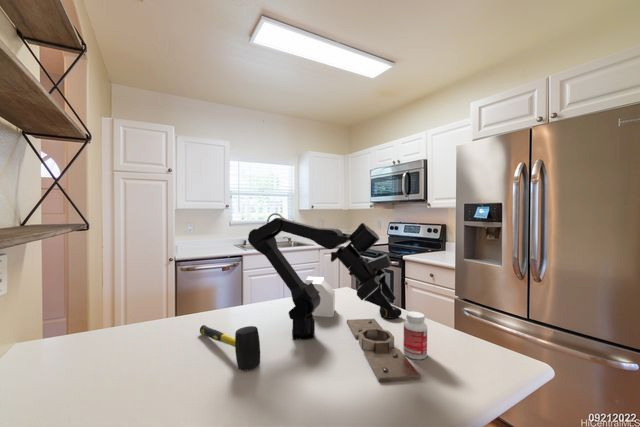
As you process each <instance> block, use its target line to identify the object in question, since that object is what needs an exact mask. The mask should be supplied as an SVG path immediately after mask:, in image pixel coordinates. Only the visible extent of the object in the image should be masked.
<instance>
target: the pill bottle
mask: <svg viewBox="0 0 640 427" xmlns="http://www.w3.org/2000/svg"><path fill="white" fill-rule="evenodd" d="M405 317H406V320H405V321H404V323H403V341H402V342H403V346H402V348H403V354H404V356H405V357H408V358H409V359H412V360H413V359H414V360H424V359H426V357H427V356H428V326H427V323H426V322H425V314H424V313H422V312H419V311H408V312H406V316H405Z"/></svg>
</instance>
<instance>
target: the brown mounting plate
mask: <svg viewBox="0 0 640 427" xmlns="http://www.w3.org/2000/svg"><path fill="white" fill-rule="evenodd" d="M346 323H347V326H348V328H349V329H350V331H351V333H352V335H353V338H354V339H358V344H359V346H360V348H361V349H362V351H363V356H364V358H365V359H366V361H367V363H368V365H369V366H370V368H371V370H372V372H373V373H374V376H375V377H376V379H377V381H378V383H388V382H389V383H390V382H400V381H404V382H405V381H415V380H418V381H419V380H421V374H420V373H419V372H418V370H417V369H416V368H415V367H414V365H413V364H412V363H411V362H410V361H409V359H408V358H407V356H406V355H405V354H404V352H402V351H401V349H399V348H397V349H395V336H394V335H393V334H392V333H391V331H389V330H385V329H383V328H382V326H381V325H380V324H379V323H378V321H377V320H376V319H375V318H359V319H346ZM375 340H377V341H375ZM378 340H379V341H378Z"/></svg>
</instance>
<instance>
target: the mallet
mask: <svg viewBox="0 0 640 427" xmlns="http://www.w3.org/2000/svg"><path fill="white" fill-rule="evenodd" d="M199 333H200V335H202V336H206V337H208V338H210V339H212V340H214V341H218V342H220V343H223V344H226V345H229V346H232V347H233V348H234V350H235V360H236V363H237V364H236V365H237V369H238V370H239V371H243V372H247V371H251V370H254V369H255V368H258V367H260V364H261V345H260V344H261V342H260V334H259V329H258V327H257V326H254V325H253V326H252V325H250V326H244V327H243V326H242V327H241V328H238V329H237V330H236V331H235V335H234V336H235V337H232V336H230V335H227V334H226V333H223V332H222V331H220V330H217V329H214V328H211V327H208V326H207V325H205V324H203V325H201V326H200V328H199Z"/></svg>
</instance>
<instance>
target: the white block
mask: <svg viewBox="0 0 640 427" xmlns="http://www.w3.org/2000/svg"><path fill="white" fill-rule="evenodd" d="M305 283H306V284H307V285H308V284H310V283H312V284H313V285H314V287H315V289H316V290H317V291H319V293H318V294H319V296H320V298H321V299H320V304H319V306H318V307H317V308H316V309H315V311H314V312H313V313H312V315H313V317H327V318H334V314H335V311H336V310H335V308H336V307H335V304H336V303H335V302H336V298H335V297H336V294H335V292H336V291H335V290H334V289H333V287H331V286H330V285H329V284H328V282H326V280H325V277H323V276H307V278H306V279H305Z"/></svg>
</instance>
